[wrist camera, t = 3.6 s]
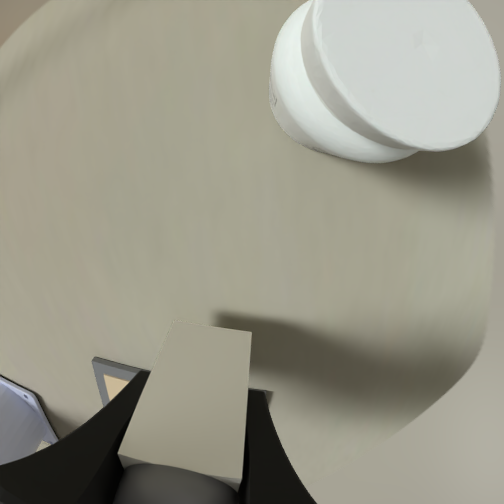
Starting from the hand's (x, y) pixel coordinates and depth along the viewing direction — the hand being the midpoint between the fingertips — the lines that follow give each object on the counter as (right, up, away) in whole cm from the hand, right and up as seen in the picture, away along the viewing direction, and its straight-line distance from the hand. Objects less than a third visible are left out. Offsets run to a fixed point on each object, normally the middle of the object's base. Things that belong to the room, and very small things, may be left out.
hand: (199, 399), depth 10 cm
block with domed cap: (0, +1, +3) cm, 3 cm away
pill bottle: (+5, +11, 0) cm, 12 cm away
